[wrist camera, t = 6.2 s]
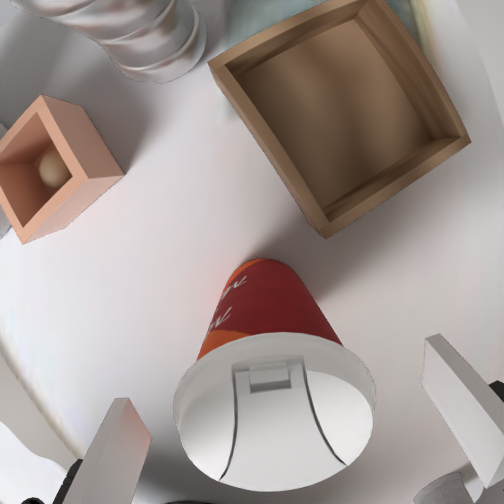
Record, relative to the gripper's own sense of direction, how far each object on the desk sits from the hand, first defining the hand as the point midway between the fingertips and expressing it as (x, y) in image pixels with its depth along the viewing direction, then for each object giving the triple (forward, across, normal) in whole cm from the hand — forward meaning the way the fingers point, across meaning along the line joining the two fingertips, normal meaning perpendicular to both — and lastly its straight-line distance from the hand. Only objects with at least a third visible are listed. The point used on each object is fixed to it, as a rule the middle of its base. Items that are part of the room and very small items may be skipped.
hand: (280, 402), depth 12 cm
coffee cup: (+13, 0, 0) cm, 13 cm away
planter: (+13, -13, +13) cm, 22 cm away
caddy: (+13, +8, +12) cm, 19 cm away
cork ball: (+12, -13, +13) cm, 22 cm away
